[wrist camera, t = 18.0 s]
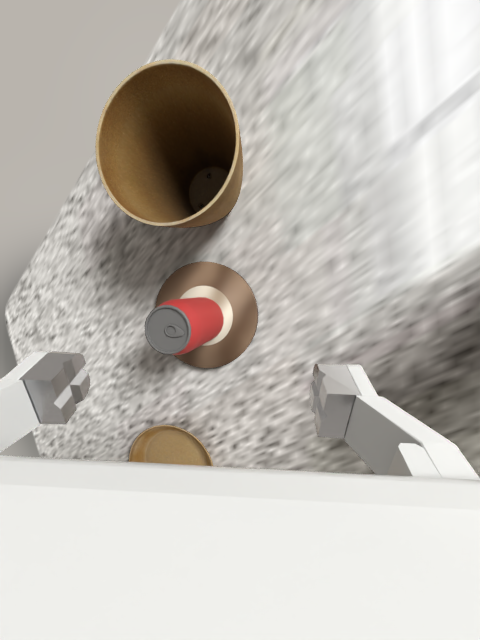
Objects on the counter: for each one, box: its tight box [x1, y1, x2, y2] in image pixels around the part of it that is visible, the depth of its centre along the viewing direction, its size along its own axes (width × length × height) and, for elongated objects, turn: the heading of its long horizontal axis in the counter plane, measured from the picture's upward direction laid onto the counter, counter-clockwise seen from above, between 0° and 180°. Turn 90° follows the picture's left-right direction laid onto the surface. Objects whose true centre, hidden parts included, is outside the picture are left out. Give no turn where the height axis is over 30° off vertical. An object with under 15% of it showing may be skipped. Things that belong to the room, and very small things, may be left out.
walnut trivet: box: [155, 262, 258, 368], centre depth 45 cm, size 16×16×2 cm
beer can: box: [145, 297, 224, 355], centre depth 38 cm, size 7×7×12 cm
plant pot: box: [95, 59, 243, 228], centre depth 36 cm, size 15×15×16 cm
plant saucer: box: [129, 425, 213, 466], centre depth 49 cm, size 15×15×3 cm
